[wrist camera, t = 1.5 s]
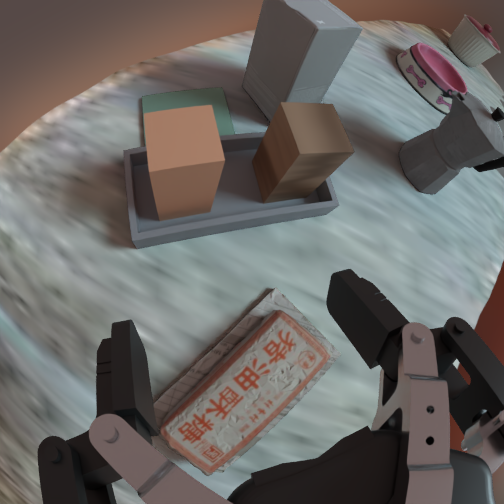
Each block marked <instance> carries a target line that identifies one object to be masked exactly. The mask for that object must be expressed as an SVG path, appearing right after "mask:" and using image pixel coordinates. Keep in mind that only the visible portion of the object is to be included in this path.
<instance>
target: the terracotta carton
mask: <svg viewBox="0 0 504 504" xmlns="http://www.w3.org/2000/svg"><path fill="white" fill-rule="evenodd" d="M144 124H145V137H146V148H147V158H148V168H149V175H150V180H151V184H152V189H153V194H154V199H155V203H156V208H157V212H158V216H159V220H160V221H165V220H170V219H175V218H181V217H186V216H192V215H197V214H203V213H209V212H211V208H212V205H213V201H214V197H215V194H216V190H217V187H218V183H219V180H220V176H221V173H222V170H223V166H224V163H225V158H224V153H223V149H222V145H221V141H220V137H219V133H218V129H217V124H216V120H215V116H214V112H213V108H212V105H204V106H194V107H185V108H177V109H169V110H162V111H156V112H150V113H144Z"/></svg>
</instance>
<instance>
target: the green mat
mask: <svg viewBox="0 0 504 504" xmlns="http://www.w3.org/2000/svg"><path fill="white" fill-rule="evenodd" d="M204 105H212V108H213V112H214V116H215V120H216V124H217V129H218V133H219V136H222V135H233V134H235V132H234V128H233V124H232V121H231V117H230V114H229V110H228V106H227V103H226V99H225V96H224V92H223V88H222V87H221V88H206V89H194V90H184V91H175V92H168V93H160V94H154V95H147V96H142V106H143V123H144V113H150V112H156V111H162V110H169V109H177V108H185V107H194V106H204ZM144 136H145V124H144ZM145 146H146V137H145Z"/></svg>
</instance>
